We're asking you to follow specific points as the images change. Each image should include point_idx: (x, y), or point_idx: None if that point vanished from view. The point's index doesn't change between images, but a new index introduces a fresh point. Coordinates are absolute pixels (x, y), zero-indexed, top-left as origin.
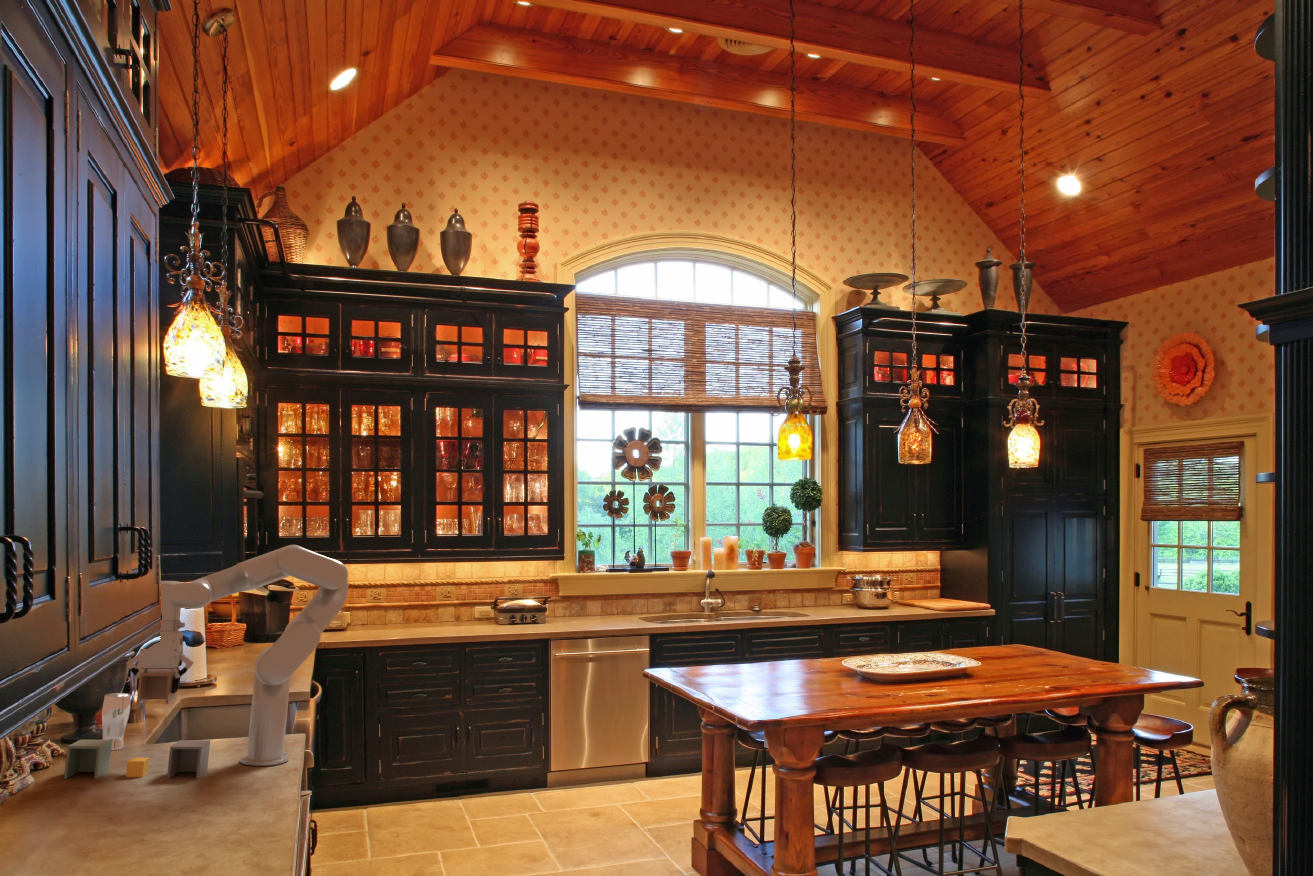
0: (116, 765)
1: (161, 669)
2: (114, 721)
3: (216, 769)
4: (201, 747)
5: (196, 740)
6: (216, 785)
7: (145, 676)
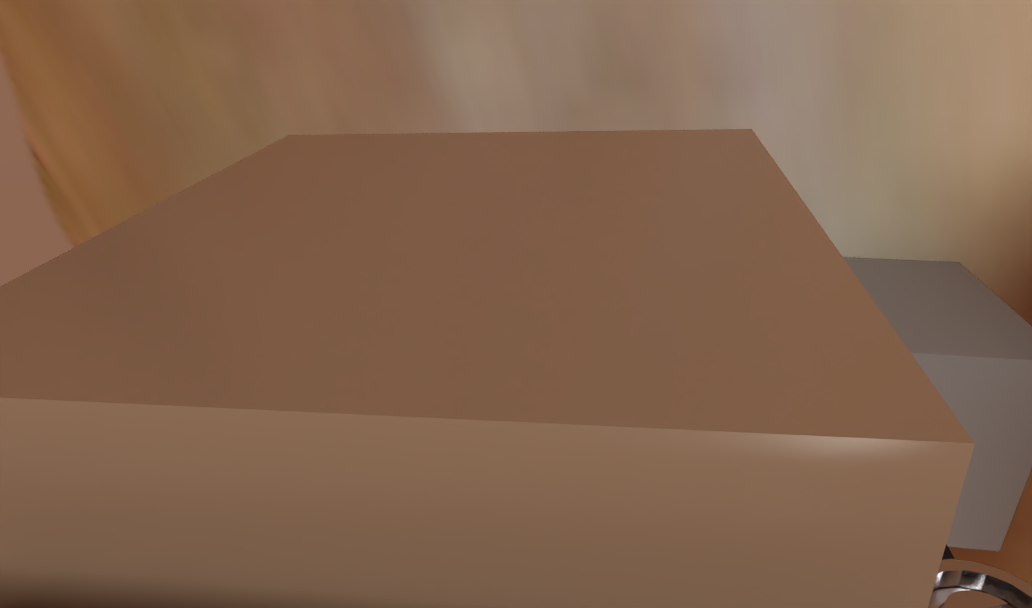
0: (355, 90)
1: (252, 447)
2: None
3: (1022, 212)
4: (997, 548)
5: (952, 363)
6: (1017, 537)
7: None
